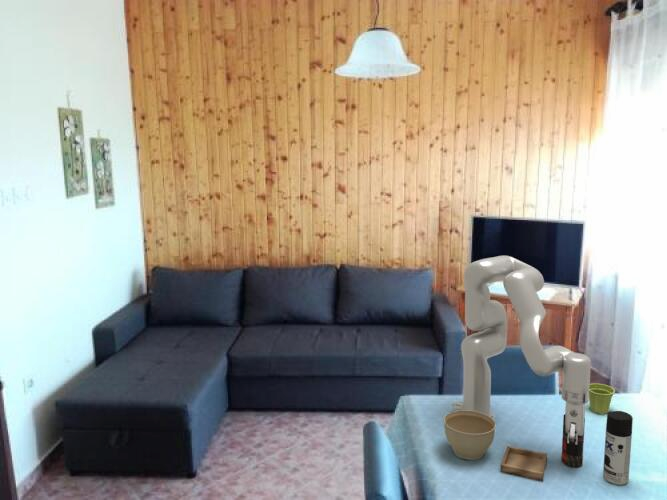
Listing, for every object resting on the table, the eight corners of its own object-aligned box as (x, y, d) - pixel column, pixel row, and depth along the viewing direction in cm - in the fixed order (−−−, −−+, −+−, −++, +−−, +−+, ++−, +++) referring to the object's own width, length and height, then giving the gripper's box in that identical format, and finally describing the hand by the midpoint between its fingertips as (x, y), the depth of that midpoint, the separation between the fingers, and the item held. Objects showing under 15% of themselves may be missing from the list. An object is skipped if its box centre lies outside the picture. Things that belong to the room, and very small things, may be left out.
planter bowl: (494, 470, 165) (495, 436, 163) (441, 462, 169) (441, 430, 167) (495, 443, 180) (496, 412, 178) (446, 437, 184) (446, 407, 183)
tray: (500, 471, 163) (500, 464, 163) (507, 452, 174) (507, 445, 174) (542, 481, 158) (543, 474, 158) (546, 460, 169) (547, 453, 168)
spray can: (598, 473, 161) (601, 410, 158) (619, 471, 162) (624, 409, 159) (611, 486, 155) (615, 421, 151) (633, 484, 155) (638, 419, 152)
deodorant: (584, 468, 164) (587, 422, 161) (563, 467, 165) (565, 421, 162) (579, 458, 169) (582, 413, 167) (559, 456, 171) (561, 412, 168)
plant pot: (619, 414, 197) (620, 392, 195) (597, 418, 195) (598, 395, 193) (601, 403, 206) (602, 382, 204) (579, 406, 204) (580, 385, 202)
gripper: (587, 408, 154) (584, 465, 157) (589, 385, 169) (587, 437, 172) (559, 404, 157) (556, 460, 160) (563, 381, 173) (561, 433, 176)
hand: (572, 448), depth 166 cm, fingers open, 7 cm apart
